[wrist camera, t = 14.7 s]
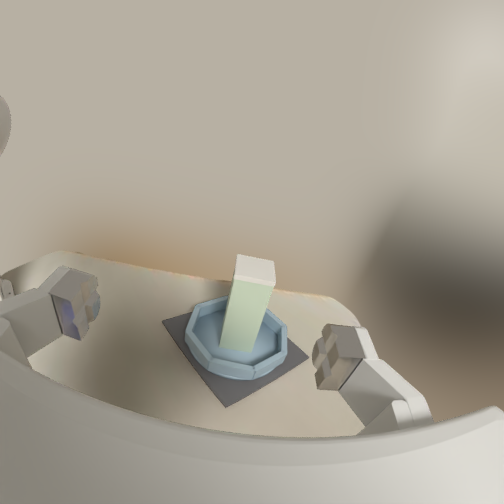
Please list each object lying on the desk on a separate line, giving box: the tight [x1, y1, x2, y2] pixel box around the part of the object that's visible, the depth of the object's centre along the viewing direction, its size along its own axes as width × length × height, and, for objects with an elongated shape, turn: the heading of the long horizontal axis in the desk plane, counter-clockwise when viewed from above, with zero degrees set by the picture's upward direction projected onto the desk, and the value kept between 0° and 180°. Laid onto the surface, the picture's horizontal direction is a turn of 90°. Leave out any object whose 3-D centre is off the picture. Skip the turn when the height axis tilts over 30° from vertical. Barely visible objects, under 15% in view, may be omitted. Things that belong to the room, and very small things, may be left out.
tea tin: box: [219, 254, 276, 353], centre depth 43 cm, size 6×6×15 cm
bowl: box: [185, 296, 287, 381], centre depth 46 cm, size 17×17×3 cm
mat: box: [162, 312, 309, 408], centre depth 47 cm, size 20×19×1 cm
